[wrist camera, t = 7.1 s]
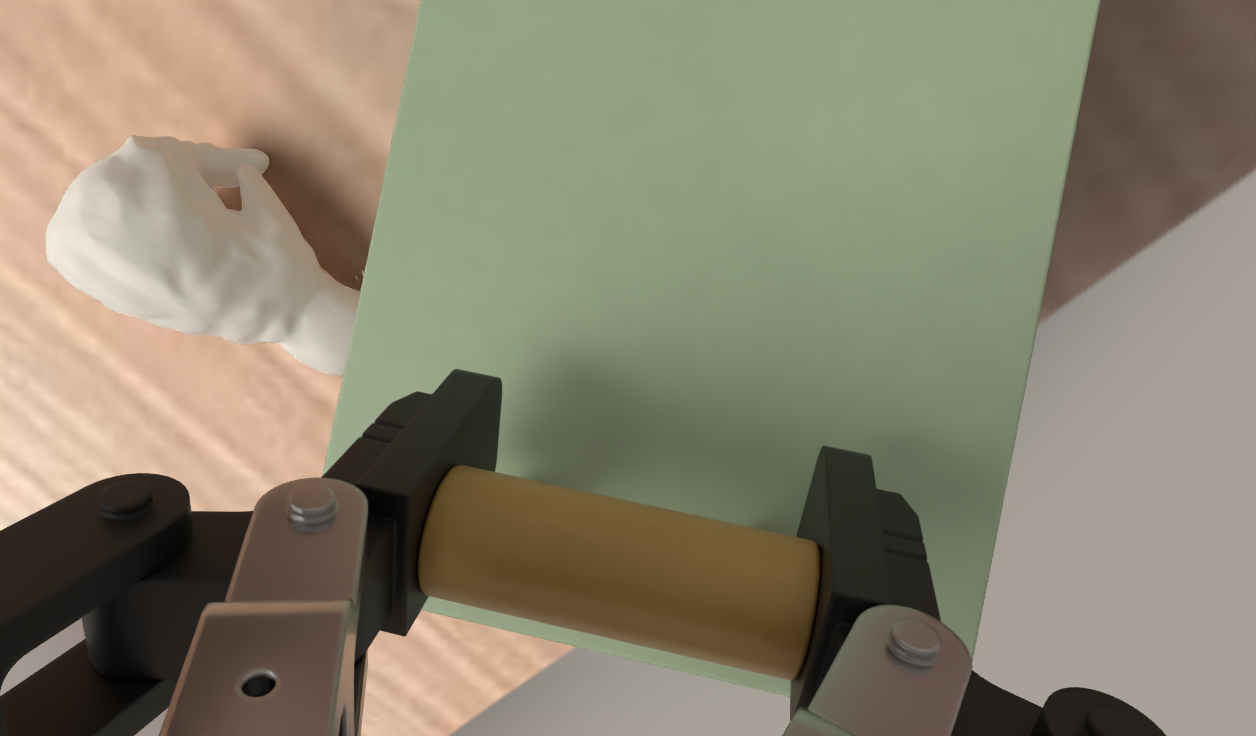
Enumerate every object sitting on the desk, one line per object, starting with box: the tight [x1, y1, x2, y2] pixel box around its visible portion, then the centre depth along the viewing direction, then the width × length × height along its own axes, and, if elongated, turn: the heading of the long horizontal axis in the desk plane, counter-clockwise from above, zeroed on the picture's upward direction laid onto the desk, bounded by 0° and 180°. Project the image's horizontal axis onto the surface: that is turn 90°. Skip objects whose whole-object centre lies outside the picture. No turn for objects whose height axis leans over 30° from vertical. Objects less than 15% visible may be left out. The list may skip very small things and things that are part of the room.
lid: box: [323, 0, 1101, 697], centre depth 13 cm, size 18×12×5 cm, turn 172°
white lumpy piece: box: [46, 135, 364, 376], centre depth 34 cm, size 6×8×12 cm
